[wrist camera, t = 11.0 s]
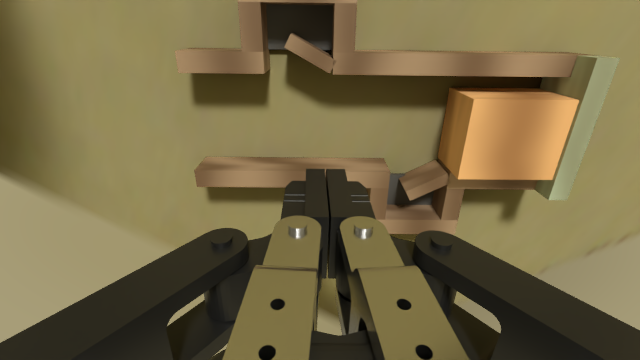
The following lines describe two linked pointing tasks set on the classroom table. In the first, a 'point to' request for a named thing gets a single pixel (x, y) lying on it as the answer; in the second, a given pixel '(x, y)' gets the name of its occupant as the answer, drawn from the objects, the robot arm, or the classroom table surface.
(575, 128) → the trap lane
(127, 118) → the classroom table surface
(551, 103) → the block
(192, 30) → the classroom table surface
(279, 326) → the robot arm
